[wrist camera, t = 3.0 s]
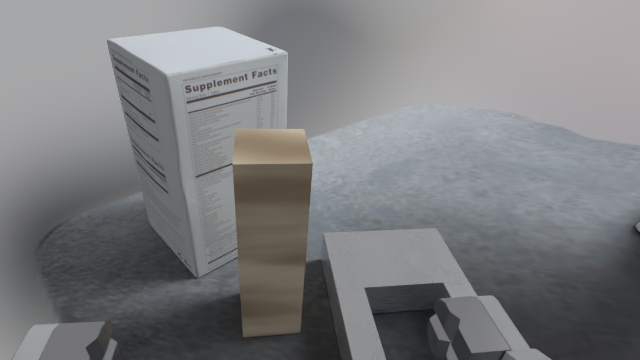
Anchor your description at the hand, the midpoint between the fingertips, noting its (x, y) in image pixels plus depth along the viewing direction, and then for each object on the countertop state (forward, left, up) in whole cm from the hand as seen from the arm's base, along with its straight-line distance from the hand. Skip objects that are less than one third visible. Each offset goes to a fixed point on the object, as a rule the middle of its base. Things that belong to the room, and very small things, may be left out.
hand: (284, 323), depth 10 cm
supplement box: (-10, -20, -16) cm, 28 cm away
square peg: (-8, -10, -15) cm, 20 cm away
